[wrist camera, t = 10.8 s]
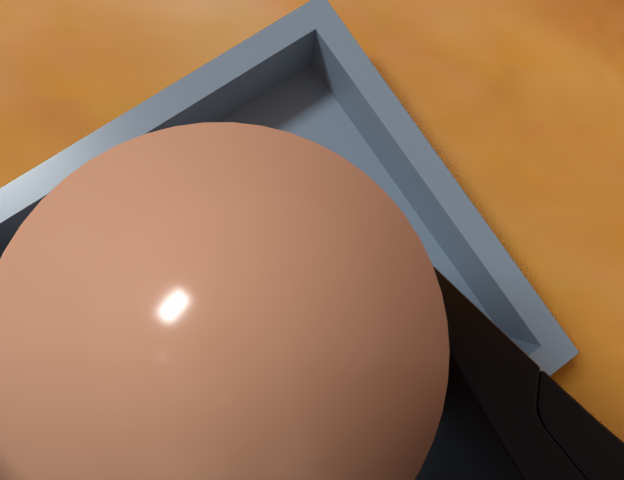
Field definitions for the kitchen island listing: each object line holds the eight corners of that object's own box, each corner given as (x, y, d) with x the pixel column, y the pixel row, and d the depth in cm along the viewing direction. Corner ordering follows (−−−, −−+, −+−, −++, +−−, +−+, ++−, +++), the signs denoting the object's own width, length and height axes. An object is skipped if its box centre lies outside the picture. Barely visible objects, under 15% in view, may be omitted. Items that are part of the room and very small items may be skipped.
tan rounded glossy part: (361, 288, 14) (534, 310, 4) (275, 398, 14) (251, 713, 4) (257, 203, 14) (196, 35, 4) (166, 309, 14) (-138, 390, 4)
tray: (526, 338, 17) (578, 352, 14) (213, 584, 15) (196, 660, 12) (315, 42, 17) (322, -7, 14) (-11, 244, 16) (-80, 236, 13)
